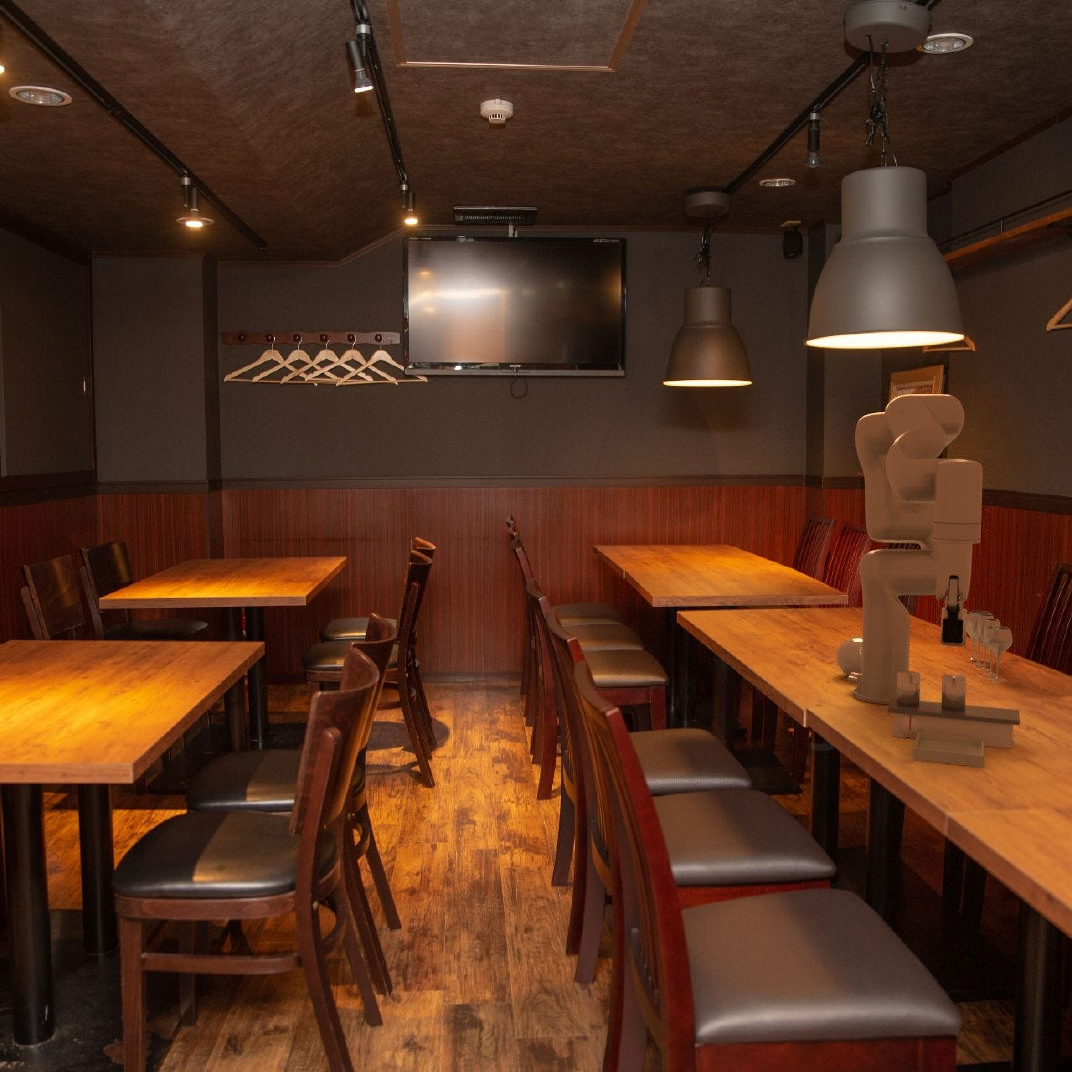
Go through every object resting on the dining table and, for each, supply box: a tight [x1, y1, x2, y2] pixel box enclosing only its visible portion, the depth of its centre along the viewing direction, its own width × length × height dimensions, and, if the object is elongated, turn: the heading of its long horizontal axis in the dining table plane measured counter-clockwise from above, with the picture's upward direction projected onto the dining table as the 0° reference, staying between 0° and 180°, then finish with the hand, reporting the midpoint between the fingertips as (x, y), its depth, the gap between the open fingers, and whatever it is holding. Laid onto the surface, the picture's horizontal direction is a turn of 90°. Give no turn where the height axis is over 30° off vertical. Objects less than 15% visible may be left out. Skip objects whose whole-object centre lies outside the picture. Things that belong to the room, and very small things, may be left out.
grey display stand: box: [886, 698, 1021, 750], centre depth 192 cm, size 22×8×5 cm, turn 66°
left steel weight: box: [897, 670, 921, 707], centre depth 195 cm, size 4×4×6 cm
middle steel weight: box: [941, 673, 967, 712], centre depth 192 cm, size 4×4×6 cm
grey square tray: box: [912, 733, 985, 769], centre depth 181 cm, size 11×11×2 cm
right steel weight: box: [940, 607, 968, 647], centre depth 180 cm, size 4×4×6 cm
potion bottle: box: [835, 636, 862, 676], centre depth 243 cm, size 9×10×15 cm
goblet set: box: [966, 610, 1013, 682], centre depth 252 cm, size 28×6×13 cm, turn 171°
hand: (952, 639), depth 180 cm, fingers closed on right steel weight, 4 cm apart
